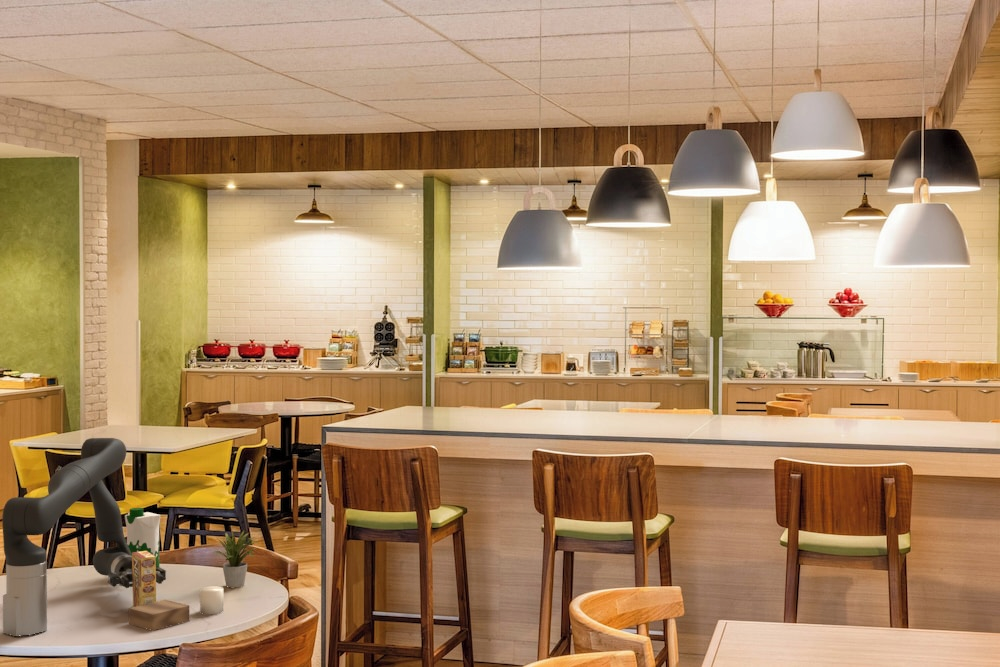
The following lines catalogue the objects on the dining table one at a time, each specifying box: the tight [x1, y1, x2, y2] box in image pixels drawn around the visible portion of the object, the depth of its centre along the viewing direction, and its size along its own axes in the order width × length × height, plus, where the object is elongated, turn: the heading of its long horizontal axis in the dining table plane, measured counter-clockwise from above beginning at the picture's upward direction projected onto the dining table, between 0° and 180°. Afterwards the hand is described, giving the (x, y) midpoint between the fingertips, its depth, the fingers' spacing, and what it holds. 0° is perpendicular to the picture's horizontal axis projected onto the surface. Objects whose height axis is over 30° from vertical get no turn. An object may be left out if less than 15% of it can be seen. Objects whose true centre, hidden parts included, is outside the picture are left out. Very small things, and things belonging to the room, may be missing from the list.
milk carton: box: [124, 507, 162, 567], centre depth 342 cm, size 9×9×20 cm
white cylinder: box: [199, 585, 225, 615], centre depth 299 cm, size 6×6×6 cm
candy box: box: [132, 551, 157, 607], centre depth 299 cm, size 9×4×15 cm, turn 33°
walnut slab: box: [128, 599, 190, 631], centre depth 288 cm, size 11×10×4 cm
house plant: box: [212, 529, 262, 588], centre depth 326 cm, size 14×14×16 cm
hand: (144, 581), depth 298 cm, fingers open, 8 cm apart
